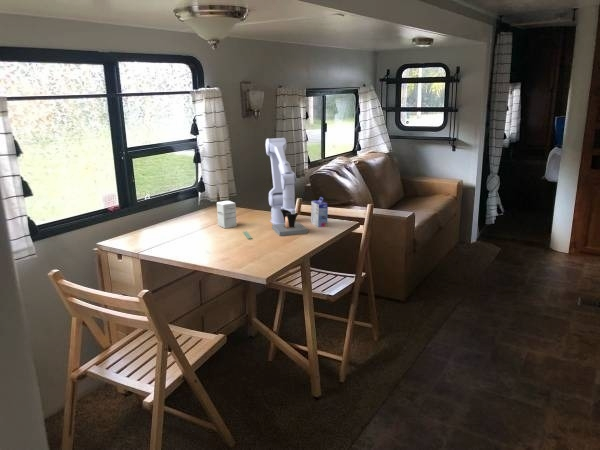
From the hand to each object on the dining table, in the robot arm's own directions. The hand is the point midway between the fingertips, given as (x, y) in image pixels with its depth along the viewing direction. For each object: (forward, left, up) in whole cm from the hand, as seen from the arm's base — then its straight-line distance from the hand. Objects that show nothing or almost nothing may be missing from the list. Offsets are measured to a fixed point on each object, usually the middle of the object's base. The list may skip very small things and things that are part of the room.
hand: (289, 225), depth 241 cm
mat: (-1, -16, -3) cm, 16 cm away
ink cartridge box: (-6, +18, -4) cm, 19 cm away
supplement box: (-22, -27, -4) cm, 35 cm away
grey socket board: (0, 0, -3) cm, 3 cm away
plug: (0, 0, -3) cm, 3 cm away
